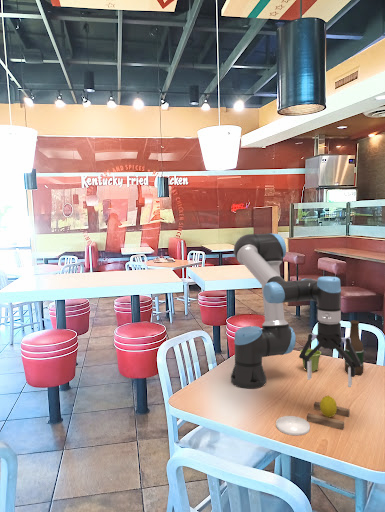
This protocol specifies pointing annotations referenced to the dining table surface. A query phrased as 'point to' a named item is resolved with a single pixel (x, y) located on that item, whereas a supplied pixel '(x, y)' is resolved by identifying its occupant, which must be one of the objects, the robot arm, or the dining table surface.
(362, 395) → the dining table surface
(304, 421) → the saucer
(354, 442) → the dining table surface
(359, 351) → the beer bottle
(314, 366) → the plant pot
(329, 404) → the lemon
